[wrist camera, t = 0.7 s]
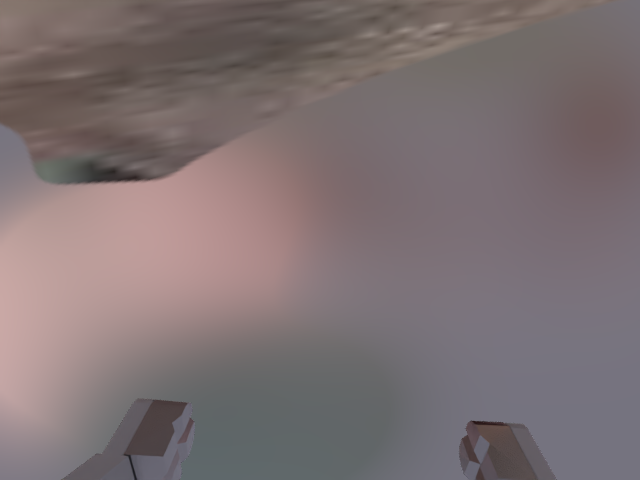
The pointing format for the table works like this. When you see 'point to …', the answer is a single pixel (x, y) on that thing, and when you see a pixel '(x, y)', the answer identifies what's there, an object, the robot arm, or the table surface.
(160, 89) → the table surface
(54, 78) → the table surface
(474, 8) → the table surface
